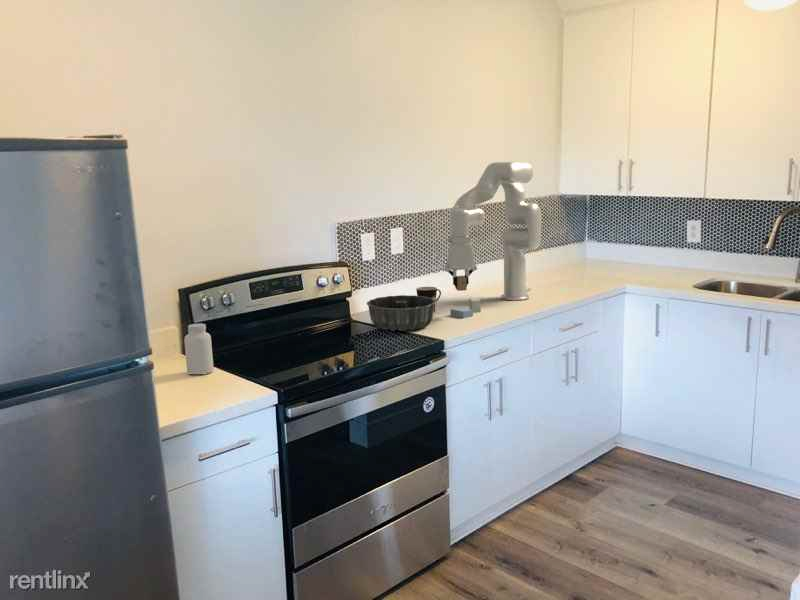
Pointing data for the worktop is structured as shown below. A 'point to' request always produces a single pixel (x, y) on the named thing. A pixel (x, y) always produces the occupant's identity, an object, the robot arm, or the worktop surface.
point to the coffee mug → (428, 293)
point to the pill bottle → (198, 350)
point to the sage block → (475, 304)
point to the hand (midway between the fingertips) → (460, 286)
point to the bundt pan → (401, 312)
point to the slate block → (461, 312)
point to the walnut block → (461, 283)
